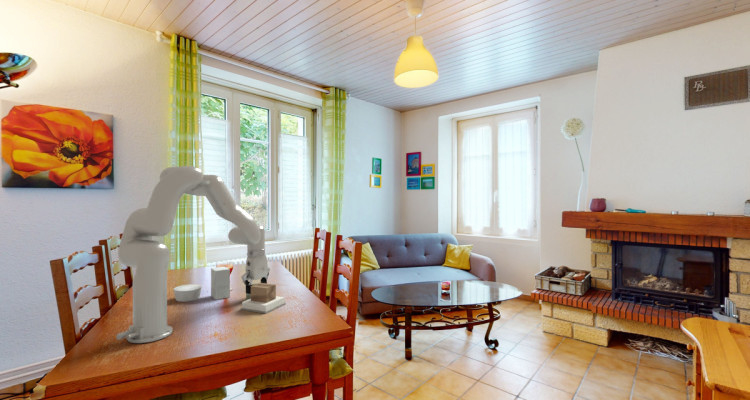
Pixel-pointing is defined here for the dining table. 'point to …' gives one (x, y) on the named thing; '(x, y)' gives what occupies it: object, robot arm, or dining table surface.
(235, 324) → the dining table surface
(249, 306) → the plinth
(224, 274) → the small box
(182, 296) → the ramekin
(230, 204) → the robot arm
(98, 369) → the dining table surface
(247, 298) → the sage cube
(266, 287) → the walnut brick
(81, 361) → the dining table surface
